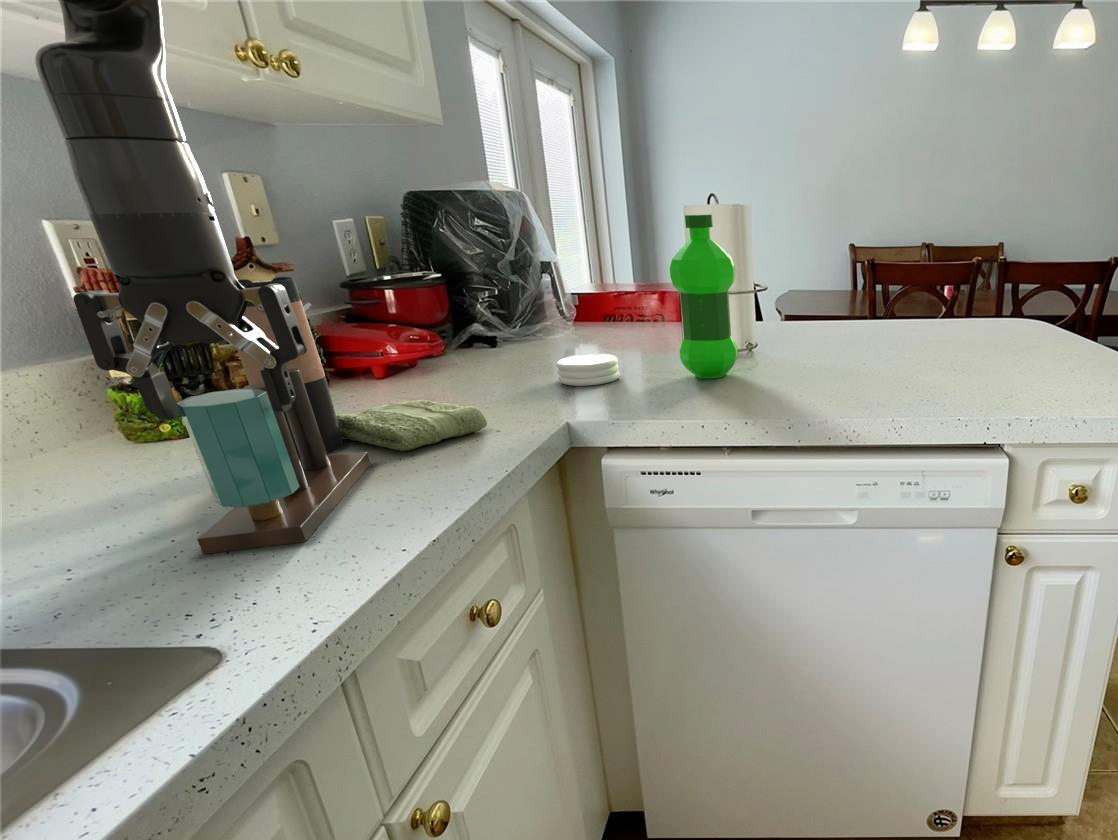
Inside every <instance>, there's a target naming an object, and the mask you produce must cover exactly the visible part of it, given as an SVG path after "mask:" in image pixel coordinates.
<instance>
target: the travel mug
mask: <svg viewBox="0 0 1118 840" xmlns="http://www.w3.org/2000/svg"><path fill="white" fill-rule="evenodd" d="M237 280H238V282H239V283H240V284H241V285H242V286H243V287H244V288H254V287H263V286H265V285H269V284H274V283H277V284H280V285H282V286H283V287H284V288H285V289H286V292H287V295H288V297H289V300H290V303H291V305H292V308H293V311H294V313H295V316H296V319H297V321H298V324H299V327H300V329H301V332H302V335H303V337H304V340H305V343H306V345H307V352H306V353H305V354H303V355H301V356H299V357H297V358H296V359H294V360H290V361H289V362H288V363H287V369H299V370H300V373H301V376H302V379H303V382H304V385H305V388H306V391H307V394H308V398H309V401H310V404H311V407H312V410H313V413H314V416H315V419H316V422H317V425H318V428H319V432H320V435H321V438H322V441H323V444H324V447H325V450H326V453H330V452H333V451H335V450H338V449H340V448H341V447H343V445H344V441H343V437H342V436H341V432H340V428H339V425H338V421H337V417H336V416H337V414H336V410H335V406H334V402H333V400H332V396H331V391H330V388H329V384H328V379H327V377H326V374H325V370H324V367H323V365H322V362H321V358H320V355H319V352H318V348H317V345H316V342H315V339H314V336H313V333H312V330H311V327H310V324H309V321H308V318H307V315H306V314H307V313H306V311H305V308H304V305H303V301H302V300H301V299H302V298H301V294H300V292H299V288H298V286H297V282H296V280H295V278H294V277H290V276H278V277H274V278H272V280H270V281H256V282H254V281H252V280H250V279H249V278H248V279H247V278H241V279H239V278H237ZM243 316H244V317H245V318H246V319H247V320H249V321H250V322H251V323H252V324H253V325H255V326H256V327H257V328H258V329H260V330H261V331H262V332H263V333H264V334H265V337H266V338H267V339H268V340H270V341H271V342H272V343H273V344H275V345H276V346H277V347H278V348H279V346H278V343H277V341H276V338H275V336H274V333H273V331H272V328H271V325H270V323H269V320H268V318H267V315H266V314H264V313H261V312H260V311H258V309H257V308H256V306H255V305H254V304H253V303H251V302H249V303H248V306H247V308H246V310H245V312H244V315H243ZM236 350H237V353H238V356H239V359H240V362H241V365H242V367H243V371H244V373H245V376H246V379H247V382H248V386H249V385H254V384H261V383H264V381H263V378H262V375H261V372H260V371H261V370H263V369H264V367H263V366H262V365H261V364H259V363H258V362H257V361H255V360H254V359H253V358H252V357H250V356H249V355H248V354H247V353H245V352H244V351H241V350H238V349H237V348H236ZM283 413H284V416H285V419H286V422H287V425H288V428H289V431H290V434H291V437H292V440H293V442H294V445H295V448H296V451H297V454H298V457H299V458H301V457H300V454H299V451H298V448H297V445H296V442H295V439H294V436H293V433H292V430H291V427H290V425H289V422H288V419H287V416H286V413H285V412H283Z"/></svg>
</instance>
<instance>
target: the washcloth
mask: <svg viewBox="0 0 1118 840" xmlns="http://www.w3.org/2000/svg"><path fill="white" fill-rule="evenodd" d="M336 417H337V421H338V425H339V428H340V432H341V436H342V439H348V440H350V441H353V442H355V441H357V442H362V443H364V444H369V445H374V446H376V447H382V448H387V449H391V450H395V451H401V452H403V451H410V450H416V449H418V448H420V447H423V446H426V445H427V446H429V445H432V444H437V443H439V442H440V441H442V440H447V439H450V438H457V437H462V436H465V435H468V434H472V433H475V432H480V431H482V430H483V429H485V428H486V427H487V424H488V421H487V419H486V417H485V415H484V413H483V412H482V411H481V409H480V408H478V407H476V406H474V405H473V406H471V405H466V406H465V405H464V406H461V405H457V404H455V403H445V402H439V401H432V400H427V399H415V400H410V401H405V402H402V401H401V402H396V403H393V402H392V403H389V404H386V405H379V406H374V407H369V408H366V409H365V410H362V411H360V412H358V413H353V414H351V413H341V414H338V415H336Z"/></svg>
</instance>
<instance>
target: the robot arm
mask: <svg viewBox="0 0 1118 840" xmlns="http://www.w3.org/2000/svg"><path fill="white" fill-rule="evenodd" d="M58 2H59V5H60V8H61V13H62V20H63V27H64V41H57V42H52V43H48V44H45V45H43V46H41V47H40V48H39V49H38V50H37V51H36V54H35V57H34V62H35V68H36V70H37V74H38V77H39V80H40V83H41V86H42V89H43V92H44V94H45V97H46V99H47V102H48V104H49V106H50V109H51V112H52V114H53V117H54V119H55V122H56V124H57V127H58V129H59V132H60V134H61V137H62V139H64V145H65V147H66V151H67V154H68V155H67V156H68V159H69V163H70V168H71V171H72V174H73V177H74V181H75V183H76V185H77V188H78V190H79V193H80V195H81V197H82V200H83V203H84V205H85V208H86V210H87V213H88V215H89V218H90V220H91V223H92V225H93V228H94V230H95V233H96V235H97V237H98V240H99V243H100V245H101V247H102V250H103V253H104V255H105V257H106V261H107V262H108V265H109V267H110V270H111V271H112V273H113V274H114V276H115V278H116V279H117V281H118V283H119V290H118V292H106V291H104V290H101V289H95V290H89V291H84V292H78V293H76V294H74V295H73V298H72V299H73V303H74V306H75V308H76V311H77V314H78V317H79V320H80V322H81V325H82V328H83V331H84V333H85V336H86V339H87V342H88V344H89V347H90V350H91V354H92V356H93V358H94V361H95V364H96V366H97V367H98V368H99V369H101V370H102V371H107V372H110V371H115V372H120V373H124V374H127V375H129V376H130V377H131V378H132V379H133V380H134V382H135V385H136V387H137V390H138V393H139V395H140V397H141V400H142V401H143V404H144V407H145V409H146V410H147V411H148V412H149V413H150V414H151V415H156V416H155V417H156V418H157V419H158V420H159V421H160V422H163V421H172V420H174V419H175V418H178V417H179V416H181V414H180V411H179V409H178V406H177V403H178V402H177V400H176V397H175V394H174V392H173V389H172V388H171V385H170V382H169V380H168V377H167V374H166V372H165V371H159V369H160V368H161V365H162V363H163V361H164V359H165V356H166V354H167V353H168V351H169V350H171V348H172V347H173V346H186V345H189V344H193V343H201V344H219V343H222V342H225V341H226V342H227V343H229V344H230V346H232V347H233V348H235V349H236V350H237V349H238V350H241V351H244V352H245V353H247V354H248V355H249V356H250V357H252V358H253V359H254V360H255V361H257V362H258V363H259V364H261V365H262V366H263V367H264V369H263V370H261V371H260V372H261V375H262V378H263V381H264V384H265V387H266V390H267V393H268V396H269V399H270V402H271V405H272V408H273V410H274V411H275V412H285V411H287V410H288V409H290V408H291V403H292V402H294V401H295V398H296V394H295V391H294V388H293V384H292V381H291V378H290V375H289V372H288V369H287V363H288V362H289V361H290V360H294V359H296V358H297V357H299V356H301V355H303V354H305V353H306V352H307V345H306V343H305V340H304V337H303V335H302V332H301V329H300V327H299V324H298V321H297V319H296V316H295V313H294V311H293V308H292V305H291V303H290V300H289V297H288V295H287V292H286V289H285V288H284V287H283V286H282V285H280V284H277V283H274V284H269V285H265V286H263V287H254V288H244V287H243V286H242V285H241V284H240V283H239V282H238V278H237V277H236V274H235V270H234V266H233V262H232V260H231V256H230V253H229V251H228V248H227V245H226V242H225V238H224V236H223V232H222V230H221V227H220V223H219V221H218V218H217V215H216V212H215V209H214V200H213V198H212V195H211V193H210V191H208V188H207V185H206V182H205V179H204V177H203V174H202V171H201V170H200V168H199V166H198V164H197V161H196V160H195V157H194V155H193V153H192V150H191V148H190V146H189V144H188V143H187V142H188V141H187V138H186V135H185V131H184V129H183V126H182V123H181V119H180V117H179V114H178V111H177V108H176V105H175V103H174V99H173V96H172V94H171V91H170V89H169V86H168V83H167V77H166V48H165V39H164V38H165V37H164V26H163V14H162V5H161V0H58ZM249 302H251V303H253V304H254V305H255V306H256V308H257V309H258V311H260V312H261V313H264V314H266V315H267V318H268V320H269V323H270V325H271V328H272V331H273V333H274V336H275V338H276V341H277V343H278V346H279V348H278V347H277V346H276V345H275V344H273V343H272V342H271V341H270V340H268V339H267V338H266V337H265V334H264V333H263V332H262V331H261V330H260V329H258V328H257V327H256V326H255V325H253V324H252V323H251V322H250V321H249V320H247V319H246V318H245V317H244V316H243V315H244V312H245V310H246V308H247V306H248V303H249ZM123 310H124V311H126V312H127V313H128V314H129V315H130V316H132V317H133V318H135V319H136V320H137V321H138V322H140V323H141V326H140V328H139V330H138V332H137V335H136V336H135V339H134V341H133V344H132V348H133V349H132V352H131V353H130V350H129V347H128V344H127V342H126V337H125V336H124V333H123V329H122V327H121V324H120V321H119V320H120V319H121V318H122V317H123ZM238 350H237V351H238Z"/></svg>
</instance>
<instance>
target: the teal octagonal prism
mask: <svg viewBox="0 0 1118 840" xmlns="http://www.w3.org/2000/svg"><path fill="white" fill-rule="evenodd" d="M177 406H178V409H179V411H180V416H181V419H182V421H183V424H184V426H185V428H186V431H187V433H188V436H189V438H190V441H191V443H192V445H193V448H194V451H195V454H196V456H197V458H198V460H199V463H200V466H201V469H202V470H203V473H204V475H205V478H206V480H207V483H208V486H209V488H210V491H211V493H212V495H213V498H214V500H215V502H216V503H217V504H218V505H219V506H220V507H222V508H234V507H247V506H253V505H258V504H263V503H268V502H272V501H275V500H278V499H280V498H283V497H286V496H288V495H291V494H293V493H294V492H295V491H296V490H297V489H298V488H299V484H298V481H297V478H296V475H295V472H294V469H293V467H292V464H291V461H290V458H289V455H288V452H287V449H286V446H285V444H284V441H283V438H282V435H281V432H280V429H279V426H278V423H277V421H276V418H275V415H274V412H273V409H272V406H271V403H270V400H269V398H268V395H267V392H266V391H263V390H261V389H243V388H235V389H226V390H219V391H212V392H207V393H202V394H198V395H194V396H189V397H187V398H184V399H182V400H180V401H178V402H177Z"/></svg>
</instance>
